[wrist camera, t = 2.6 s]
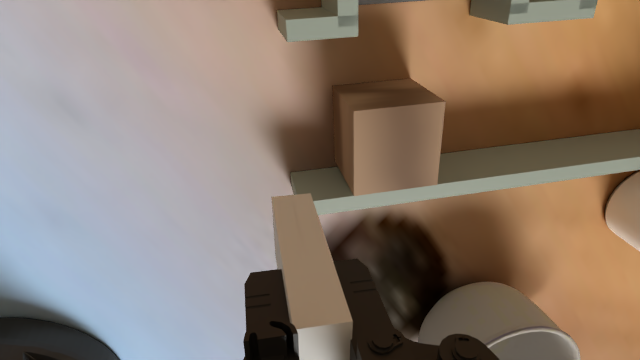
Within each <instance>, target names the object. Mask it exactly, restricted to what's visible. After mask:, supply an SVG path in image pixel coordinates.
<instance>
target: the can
mask: <svg viewBox="0 0 640 360" xmlns="http://www.w3.org/2000/svg"><path fill="white" fill-rule="evenodd" d="M605 218H606V223H607V226H608V227H609V229H610V230H611V231H613V232H614V233H615V234H616V235H618V236H619V237H620V238H622V239H623V240H625V241H626V242H627V243H629V244H630V245H631V246H633V247H634V248H636V249H637V250H638V251H640V171H638V172H635V173H633V174H632V175H630V176H629V177H627V178H626V179H625V180H623V181H622V182H621V183H620V184H619V185H618V186H617V187H616V188H615V190H614V191H613V192H612V194H611V196H610V197H609V199H608V202H607V204H606V208H605Z"/></svg>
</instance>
